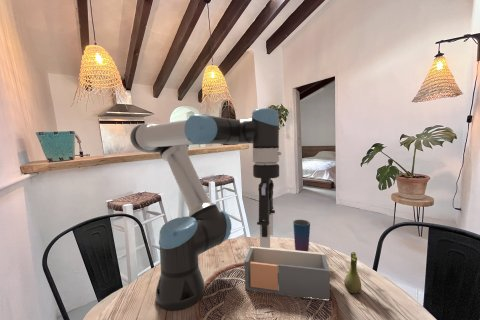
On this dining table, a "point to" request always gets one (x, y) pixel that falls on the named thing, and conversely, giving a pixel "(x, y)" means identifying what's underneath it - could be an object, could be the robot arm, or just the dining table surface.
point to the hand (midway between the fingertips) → (266, 240)
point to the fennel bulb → (353, 276)
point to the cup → (301, 234)
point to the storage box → (293, 271)
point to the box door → (264, 275)
